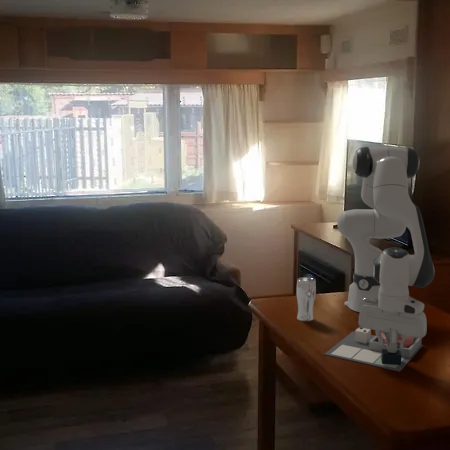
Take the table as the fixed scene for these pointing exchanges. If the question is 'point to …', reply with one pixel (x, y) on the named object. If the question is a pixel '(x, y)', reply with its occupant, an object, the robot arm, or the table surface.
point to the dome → (406, 343)
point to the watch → (391, 349)
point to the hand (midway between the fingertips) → (390, 346)
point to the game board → (370, 350)
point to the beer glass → (305, 298)
